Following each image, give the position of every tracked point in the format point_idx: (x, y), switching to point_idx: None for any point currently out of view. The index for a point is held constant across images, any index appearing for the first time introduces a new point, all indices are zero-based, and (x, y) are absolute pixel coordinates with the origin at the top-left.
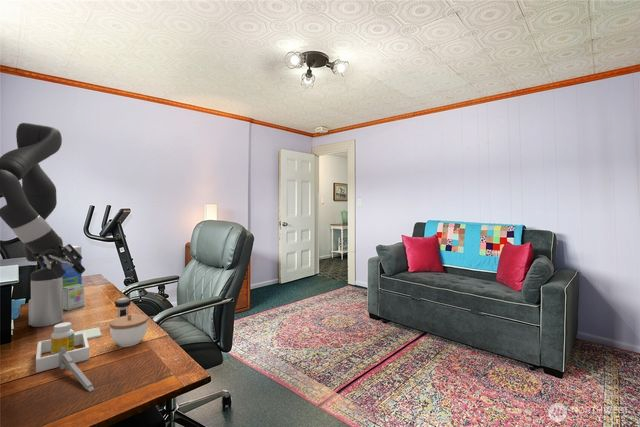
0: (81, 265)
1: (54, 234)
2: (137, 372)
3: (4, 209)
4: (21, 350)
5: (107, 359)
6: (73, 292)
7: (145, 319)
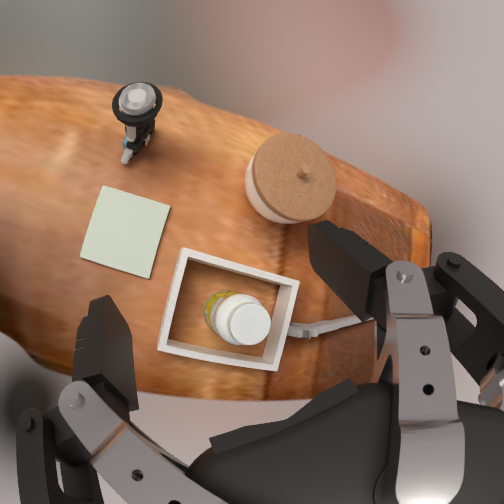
0: (373, 251)
1: None
2: (383, 250)
3: None
4: None
5: None
6: None
7: (325, 155)
